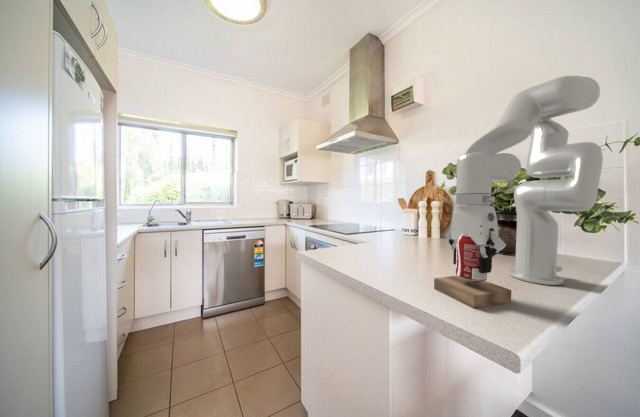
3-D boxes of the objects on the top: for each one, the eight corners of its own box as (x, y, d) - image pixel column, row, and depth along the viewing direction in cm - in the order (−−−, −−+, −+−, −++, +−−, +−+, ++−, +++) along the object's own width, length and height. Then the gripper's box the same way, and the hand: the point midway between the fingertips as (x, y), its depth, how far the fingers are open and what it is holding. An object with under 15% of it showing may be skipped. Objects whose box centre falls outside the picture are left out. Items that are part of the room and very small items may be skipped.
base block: (466, 284, 66) (466, 274, 66) (511, 302, 55) (511, 290, 55) (434, 288, 63) (434, 278, 63) (473, 308, 51) (474, 295, 51)
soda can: (492, 285, 55) (493, 237, 54) (462, 283, 56) (463, 236, 56) (478, 275, 61) (479, 232, 61) (451, 274, 63) (452, 232, 62)
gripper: (521, 201, 51) (518, 277, 51) (455, 200, 67) (454, 258, 68) (496, 201, 48) (494, 281, 49) (435, 200, 65) (434, 260, 66)
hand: (471, 267), depth 59 cm, fingers closed on soda can, 6 cm apart
